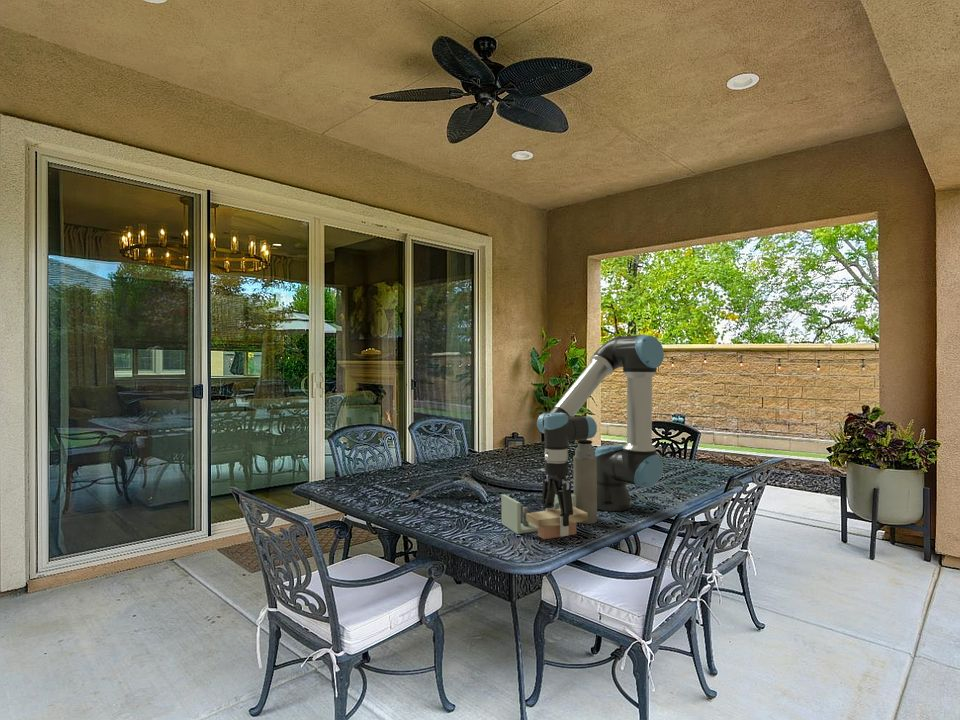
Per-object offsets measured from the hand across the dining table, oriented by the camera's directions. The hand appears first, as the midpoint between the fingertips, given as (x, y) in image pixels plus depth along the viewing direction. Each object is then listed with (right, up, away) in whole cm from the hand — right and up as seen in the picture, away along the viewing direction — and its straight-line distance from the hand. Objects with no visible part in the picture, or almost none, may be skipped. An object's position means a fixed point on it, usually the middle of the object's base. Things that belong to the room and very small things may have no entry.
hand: (557, 531), depth 175 cm
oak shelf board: (0, +3, 0) cm, 3 cm away
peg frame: (-5, -1, +11) cm, 12 cm away
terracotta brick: (0, -1, 0) cm, 1 cm away
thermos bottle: (+12, -1, +15) cm, 19 cm away
